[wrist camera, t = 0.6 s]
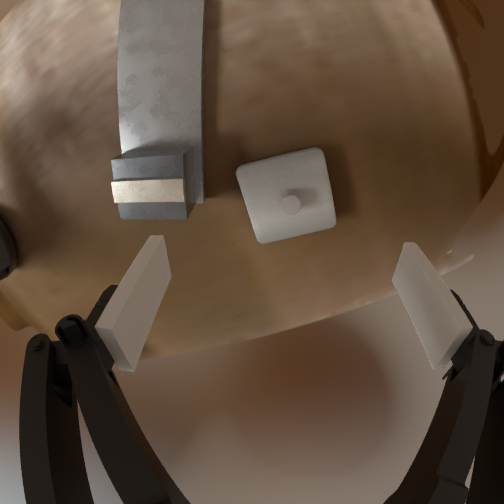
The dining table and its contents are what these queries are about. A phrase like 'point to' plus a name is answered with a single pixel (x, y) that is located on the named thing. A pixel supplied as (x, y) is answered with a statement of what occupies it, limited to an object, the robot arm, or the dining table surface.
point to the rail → (160, 109)
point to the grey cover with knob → (288, 194)
